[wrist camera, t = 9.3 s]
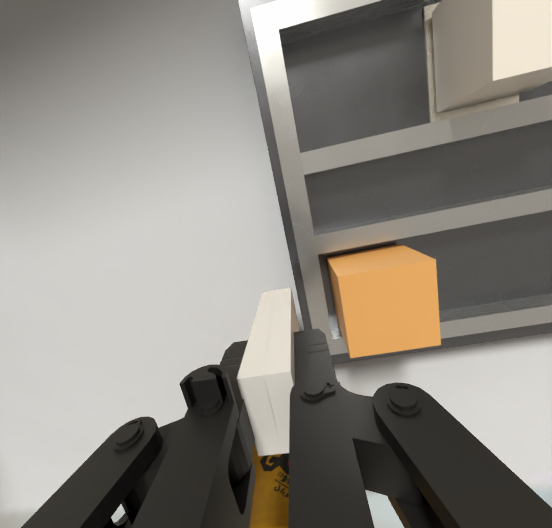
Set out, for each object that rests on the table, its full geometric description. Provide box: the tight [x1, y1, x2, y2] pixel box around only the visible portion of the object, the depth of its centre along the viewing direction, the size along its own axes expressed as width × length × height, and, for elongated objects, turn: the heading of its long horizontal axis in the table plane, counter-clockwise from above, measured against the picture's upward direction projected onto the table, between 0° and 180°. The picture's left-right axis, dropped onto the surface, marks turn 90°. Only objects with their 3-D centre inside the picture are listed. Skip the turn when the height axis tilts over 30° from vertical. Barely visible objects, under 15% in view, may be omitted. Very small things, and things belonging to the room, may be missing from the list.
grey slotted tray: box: [238, 0, 552, 364], centre depth 13 cm, size 21×20×3 cm
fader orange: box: [327, 244, 441, 358], centre depth 13 cm, size 4×4×4 cm
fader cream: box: [432, 0, 552, 112], centre depth 10 cm, size 4×4×4 cm
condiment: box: [249, 382, 340, 528], centre depth 14 cm, size 7×8×12 cm
